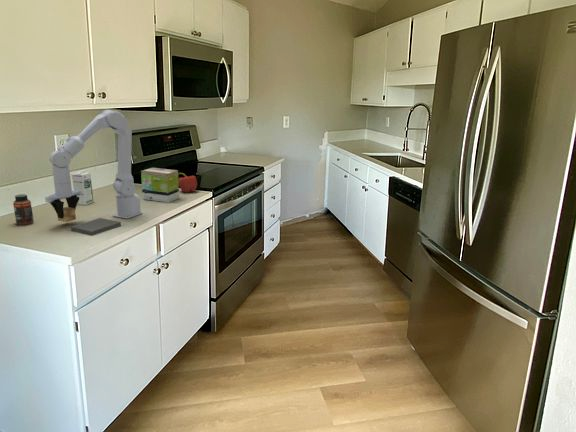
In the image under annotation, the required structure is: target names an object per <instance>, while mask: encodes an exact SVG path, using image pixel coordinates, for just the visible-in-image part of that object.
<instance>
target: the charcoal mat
mask: <svg viewBox="0 0 576 432" xmlns="http://www.w3.org/2000/svg"><path fill="white" fill-rule="evenodd" d="M121 226H122V223H121V221H117V220H113V219H108V218H102V217H98V218H96V219H92V220H89V221H86V222H83V223H79V224H75V225H73V226H70V231H71V232H76V233H80V234H83V235H84V234H85V235H87V236H88V235H89V236H95V235H97V234H100V233H103V232H106V231H110V230H112V229H116V228H118V227H121Z"/></svg>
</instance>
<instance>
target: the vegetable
mask: <svg viewBox="0 0 576 432" xmlns="http://www.w3.org/2000/svg"><path fill="white" fill-rule="evenodd" d="M180 175H182V176H184V177H178V183H179V188H180V190H181V191H182V192H183V193H190V192H194V191H196V189H197V187H198V182H197V177H196V176H195V175H190V176H189V175H188V176H187V175H186V174H185V173H183V172H178V176H180Z"/></svg>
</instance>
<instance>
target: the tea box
mask: <svg viewBox="0 0 576 432" xmlns="http://www.w3.org/2000/svg"><path fill="white" fill-rule="evenodd" d="M178 173H179V170H177V169H167V168H159V167H150V168H147V169H144V170H140V175H141V176H140V177H141V178H140V179H141V193H142V194H141V195H142V200H147V201H148V200H149V201H154V202H162V203H167V204H169V203H171V202H173V201H177V200H178V199H180V196H179V195H180V194H179V193H180V192H179V191H180V190H179V188H180V186H179V183H178V179H179V175H178Z"/></svg>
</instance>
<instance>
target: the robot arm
mask: <svg viewBox="0 0 576 432" xmlns="http://www.w3.org/2000/svg"><path fill="white" fill-rule="evenodd" d="M108 128H111V129H112V130H113V131H114V132H115V133H116V134H117V173H116V175H115V180H114V182H113V185H112V186H113V189H114V191H115V192H116V193H115V201H116V213H114V214H113V215H112V217H117V218H120V219H121V218H122V219H130V218H133V217H137V216H140V215H142V214H143V212H142V211H141V210H142V209H141V199H140V196H139V195H138V194H137V193H135V192H136V189H137V188H136V185H135V183H134V176H133V174H132V146H133V145H132V143H133V142H132V140H133V139H132V136H133V135H132V134H133V131H132V128H131V127H130V125H129V123H128V121H127V119H126V116H125V115H123V114H122V113H121V111H119V110H118V111H117V110H111V109H105V110H103V111H101V113H98V115H96V116H95V117H94V118H93V119H92V121H90V123H88V124H87V125H86V126H85V128H83V129H82V131H80V133H79V134H78V135H76V136H75V135H72V136H70V137H69V136H68V137H67V138H66V139H65V142H64V143H63V144H62V145H61V146H57V148H56V149H57V150H54V151H52V152H51V153H50V155H49V162H50V163H51V164H52V177H53V184H54V192H55V193H53V194H51V195H47V196H45V197H44V198H45V199H44V200H45V203H49V204H50V205H51V206H52V207H53V209H54V211H55V213H56V216H57V215H58V217H57V219H58V218H63V217H64V214H63V208H64V205H65V201H66V203H67V207H70V208H75V211H76V209H77V205H78V204H77V203H78V201H79V197H77V196H78V195H82V191H81V190H74V189H73V186H72V180H71V179H72V178H71V171H70V166H69V165H70V164H71V162H72V159H73V158H74V157H75V156H76V155H78V154H79V153H80V152H81V151H82V150H83V149H85V142H87V140H89V139H90V138H91V137H92V136H94V135H95V134H96V133H97V132H98V131H100V130H101V129H108ZM72 189H73V190H72ZM64 199H65V201H62V200H64Z"/></svg>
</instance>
